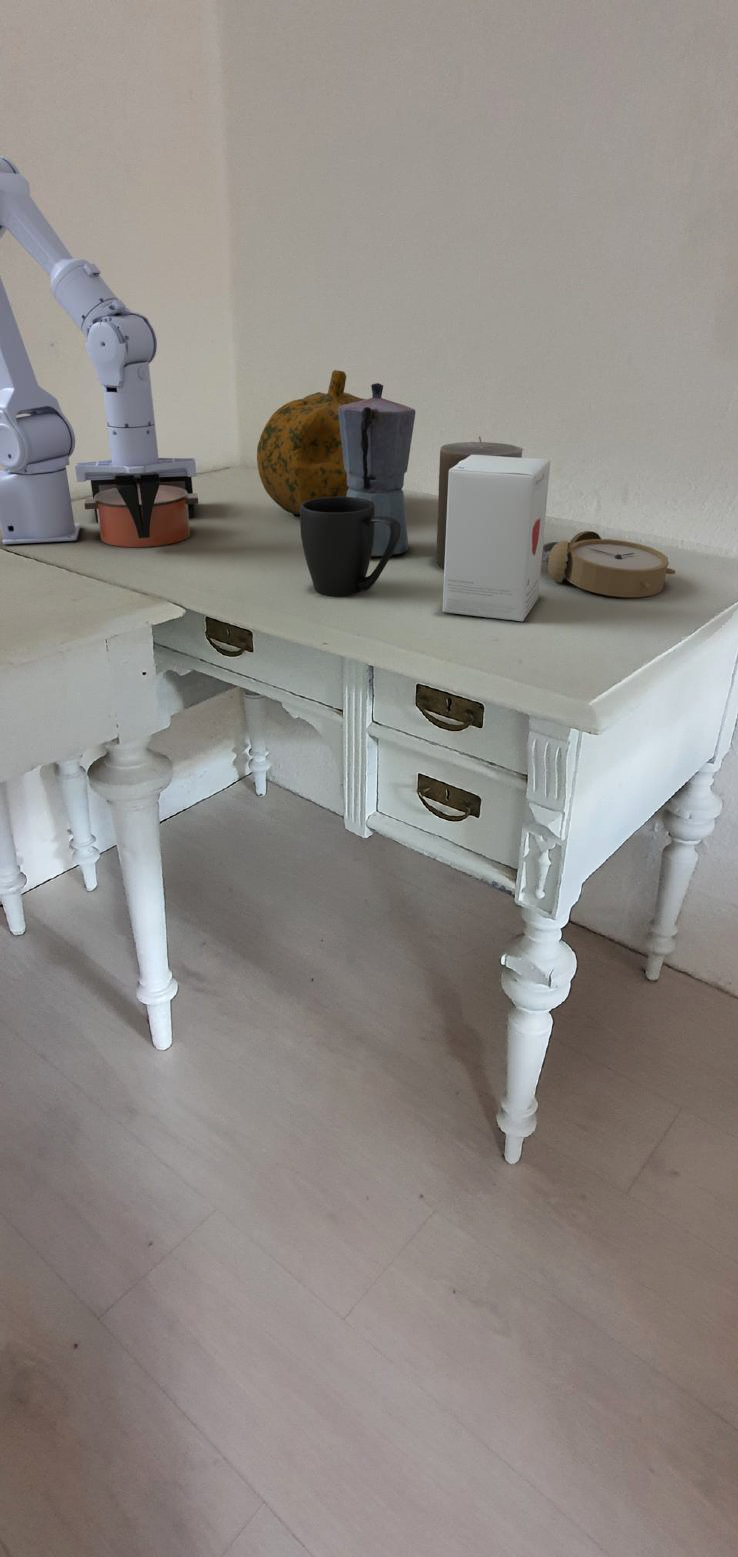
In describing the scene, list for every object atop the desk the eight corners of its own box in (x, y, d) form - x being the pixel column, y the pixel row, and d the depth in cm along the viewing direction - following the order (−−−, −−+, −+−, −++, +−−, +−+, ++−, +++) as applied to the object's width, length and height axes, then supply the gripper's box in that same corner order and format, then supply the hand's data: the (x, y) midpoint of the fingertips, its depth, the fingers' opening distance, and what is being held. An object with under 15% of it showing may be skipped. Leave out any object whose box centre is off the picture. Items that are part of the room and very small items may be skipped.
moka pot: (415, 536, 131) (419, 377, 121) (408, 569, 117) (411, 393, 107) (345, 535, 131) (343, 376, 122) (330, 567, 118) (326, 392, 108)
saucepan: (88, 550, 125) (81, 507, 123) (91, 527, 136) (86, 487, 133) (203, 543, 128) (199, 501, 125) (198, 521, 138) (194, 482, 136)
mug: (373, 611, 103) (373, 521, 99) (287, 591, 110) (284, 506, 105) (416, 592, 109) (418, 506, 105) (332, 574, 115) (330, 492, 111)
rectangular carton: (524, 623, 100) (536, 474, 93) (440, 614, 102) (445, 468, 95) (541, 597, 107) (553, 457, 100) (462, 589, 110) (468, 452, 103)
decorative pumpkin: (246, 496, 149) (250, 355, 139) (377, 499, 154) (389, 364, 144) (267, 533, 132) (273, 376, 122) (413, 536, 138) (430, 386, 128)
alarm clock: (647, 579, 103) (526, 533, 110) (633, 621, 106) (517, 574, 112) (686, 555, 111) (571, 514, 118) (672, 595, 114) (561, 552, 120)
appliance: (96, 522, 138) (89, 473, 135) (99, 508, 146) (92, 461, 143) (195, 517, 141) (190, 469, 137) (192, 503, 148) (188, 457, 145)
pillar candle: (448, 577, 114) (452, 444, 107) (427, 555, 123) (430, 431, 115) (526, 572, 116) (536, 441, 109) (501, 550, 124) (508, 428, 117)
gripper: (67, 431, 113) (84, 547, 119) (192, 427, 115) (202, 540, 122) (71, 422, 119) (87, 533, 125) (190, 418, 121) (200, 527, 128)
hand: (144, 536), depth 124 cm, fingers closed, pressing on saucepan
